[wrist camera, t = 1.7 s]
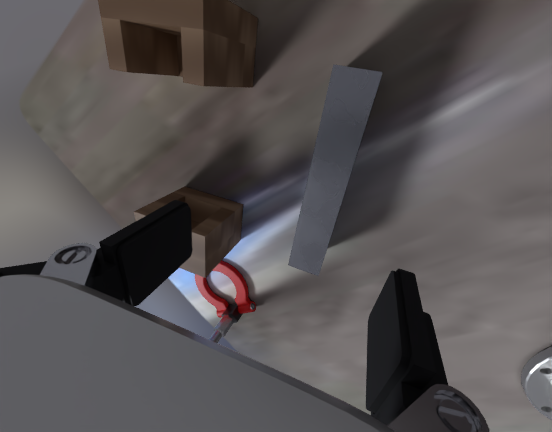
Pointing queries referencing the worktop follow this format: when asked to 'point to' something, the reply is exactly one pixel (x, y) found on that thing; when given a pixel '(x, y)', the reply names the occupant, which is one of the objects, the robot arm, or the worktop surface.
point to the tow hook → (223, 309)
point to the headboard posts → (195, 70)
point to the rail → (332, 162)
